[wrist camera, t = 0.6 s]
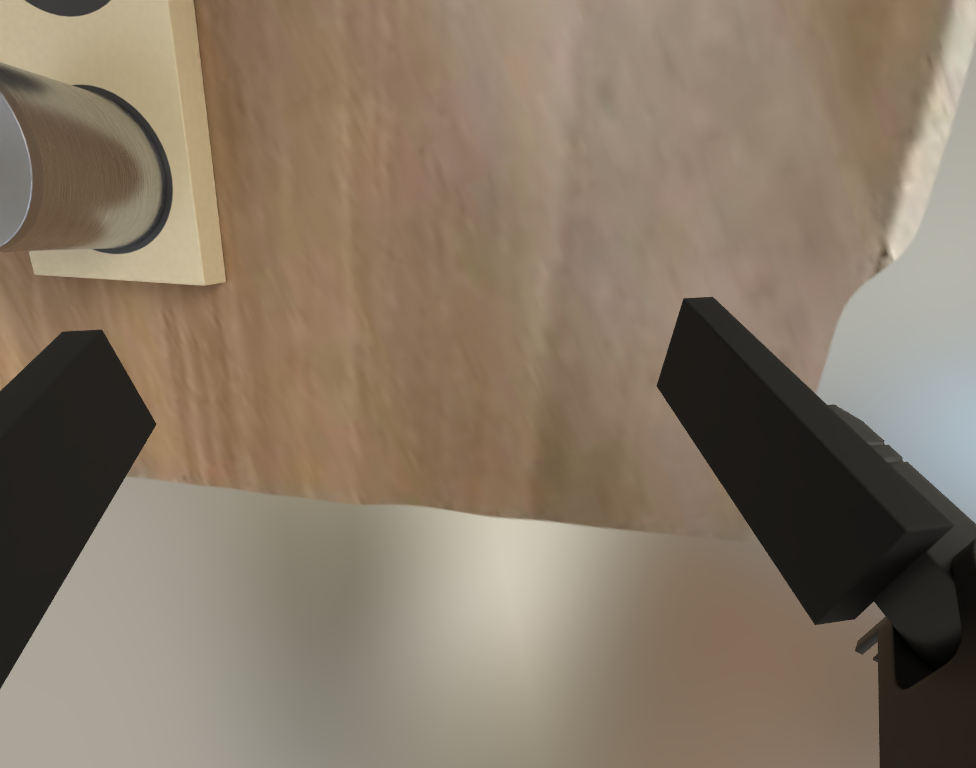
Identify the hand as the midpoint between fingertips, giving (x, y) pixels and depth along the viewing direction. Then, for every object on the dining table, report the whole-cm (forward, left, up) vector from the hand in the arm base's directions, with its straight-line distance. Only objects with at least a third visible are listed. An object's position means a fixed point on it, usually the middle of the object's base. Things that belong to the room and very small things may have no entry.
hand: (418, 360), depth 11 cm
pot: (-5, -27, -21) cm, 34 cm away
